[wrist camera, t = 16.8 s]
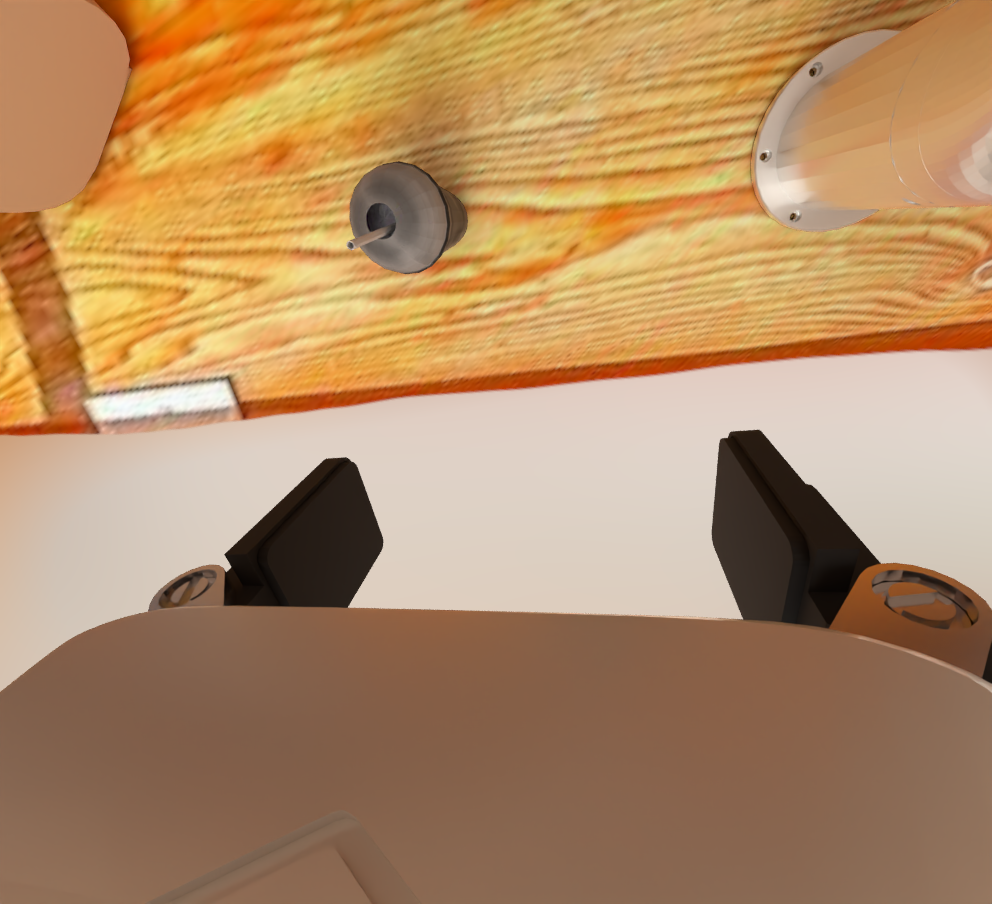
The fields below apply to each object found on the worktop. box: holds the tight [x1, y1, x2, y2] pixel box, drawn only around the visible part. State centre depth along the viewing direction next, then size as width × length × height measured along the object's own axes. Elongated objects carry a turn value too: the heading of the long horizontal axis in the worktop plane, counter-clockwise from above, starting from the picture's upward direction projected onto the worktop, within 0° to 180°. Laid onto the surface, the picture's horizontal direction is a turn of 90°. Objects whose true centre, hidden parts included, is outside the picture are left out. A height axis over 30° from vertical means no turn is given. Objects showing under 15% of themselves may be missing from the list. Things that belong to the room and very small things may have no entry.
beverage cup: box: [347, 162, 468, 274], centre depth 33 cm, size 7×7×20 cm
